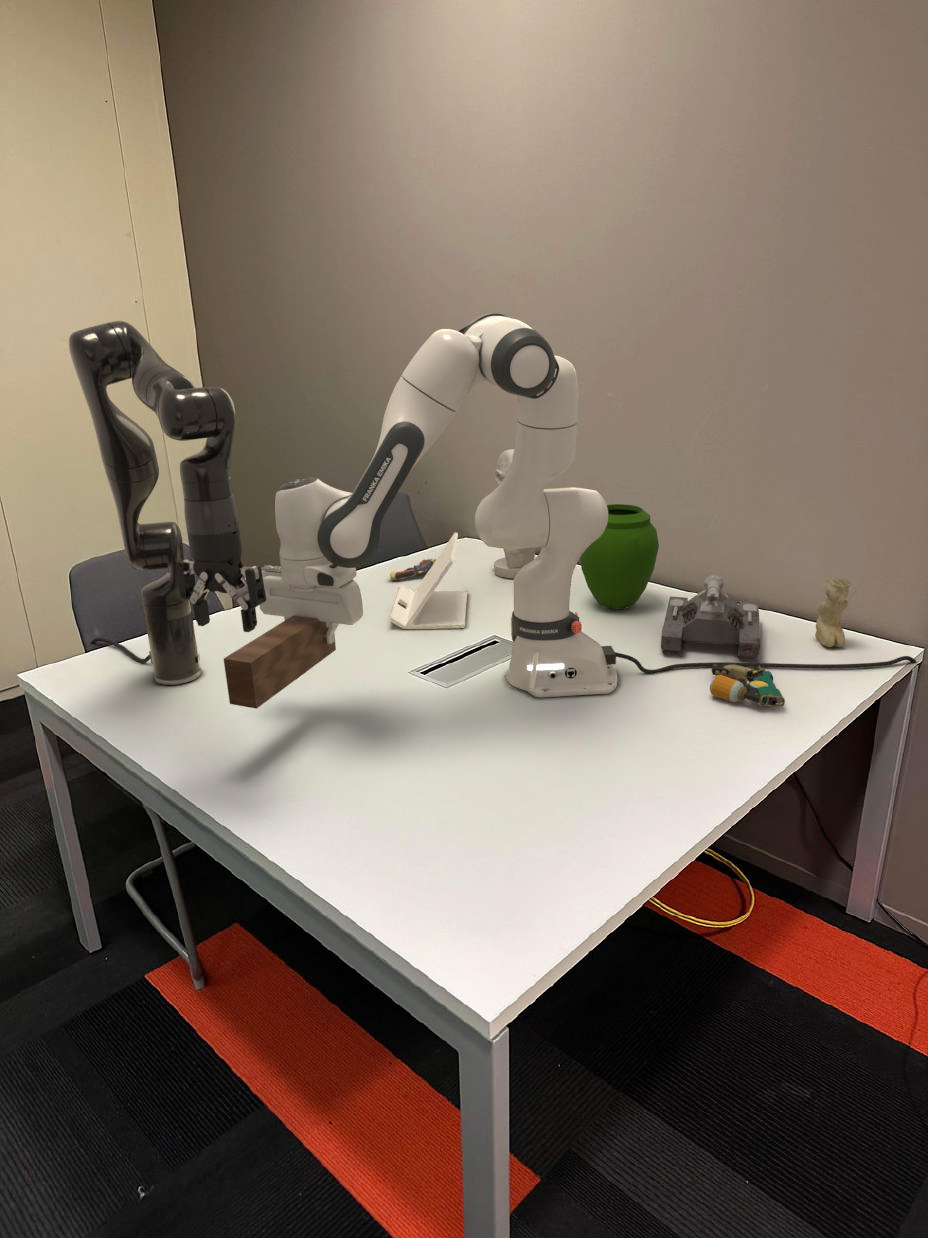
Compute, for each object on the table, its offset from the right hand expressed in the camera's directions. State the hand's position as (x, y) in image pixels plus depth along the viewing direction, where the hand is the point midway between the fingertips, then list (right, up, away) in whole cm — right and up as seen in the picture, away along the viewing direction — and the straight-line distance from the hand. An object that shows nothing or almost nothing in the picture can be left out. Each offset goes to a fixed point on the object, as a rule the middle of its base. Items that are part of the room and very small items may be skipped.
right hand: (313, 640), depth 158 cm
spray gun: (+83, -10, +9) cm, 84 cm away
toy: (+83, -1, +34) cm, 90 cm away
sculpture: (+108, -2, +30) cm, 112 cm away
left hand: (-9, +3, -25) cm, 27 cm away
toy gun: (+13, +17, +87) cm, 90 cm away
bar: (-4, -6, -7) cm, 10 cm away
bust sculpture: (+45, +16, +81) cm, 94 cm away
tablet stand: (+19, +6, +56) cm, 60 cm away
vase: (+66, +7, +57) cm, 87 cm away
